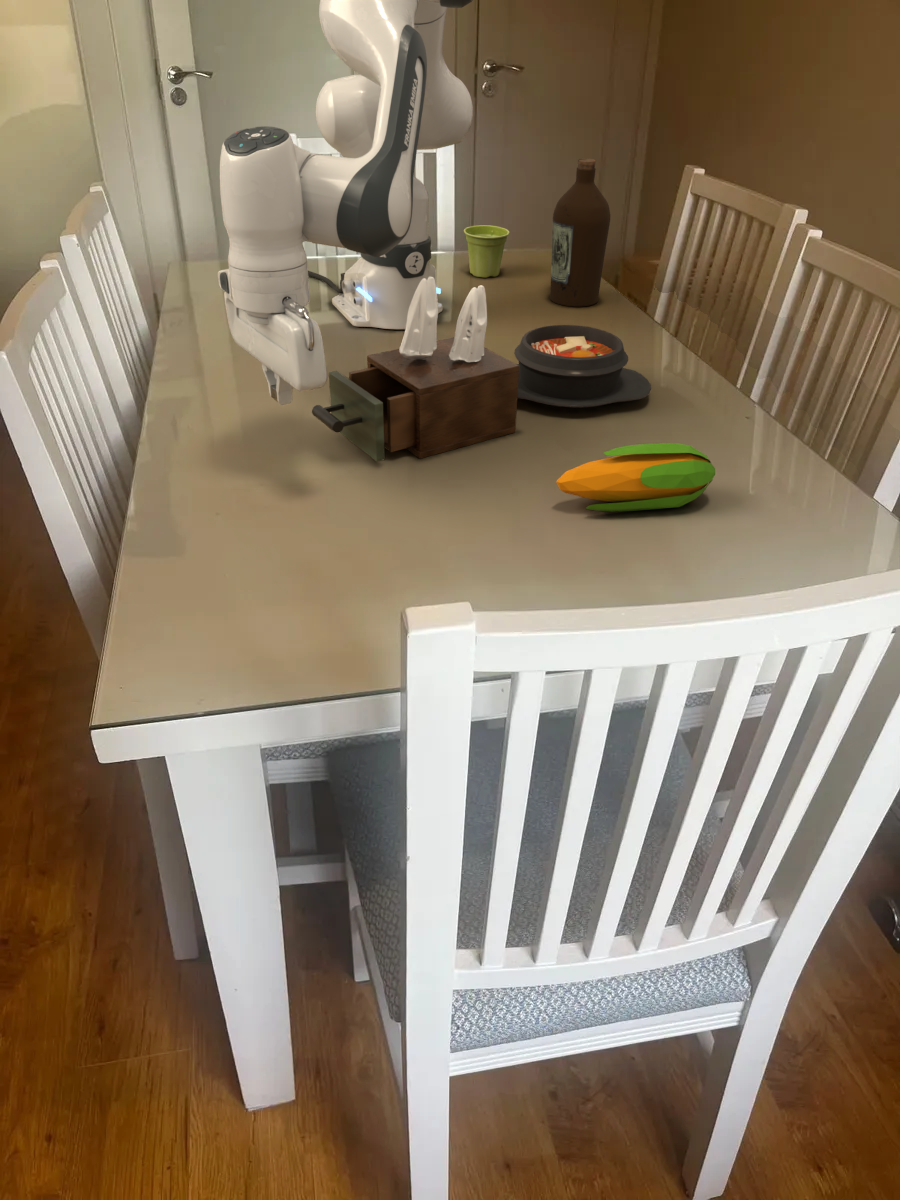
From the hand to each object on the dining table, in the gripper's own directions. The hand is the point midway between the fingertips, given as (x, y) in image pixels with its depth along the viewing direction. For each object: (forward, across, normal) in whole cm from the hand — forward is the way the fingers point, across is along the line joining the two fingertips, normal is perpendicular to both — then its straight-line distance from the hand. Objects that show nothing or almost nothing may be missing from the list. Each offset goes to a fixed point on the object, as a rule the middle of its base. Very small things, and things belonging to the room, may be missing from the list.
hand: (281, 400), depth 113 cm
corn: (+10, -31, -32) cm, 45 cm away
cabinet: (+9, 0, -24) cm, 26 cm away
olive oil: (+9, +36, -78) cm, 86 cm away
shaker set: (0, 0, -24) cm, 24 cm away
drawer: (+8, 0, -15) cm, 17 cm away
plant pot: (+9, +59, -73) cm, 94 cm away
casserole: (+10, 0, -47) cm, 48 cm away
